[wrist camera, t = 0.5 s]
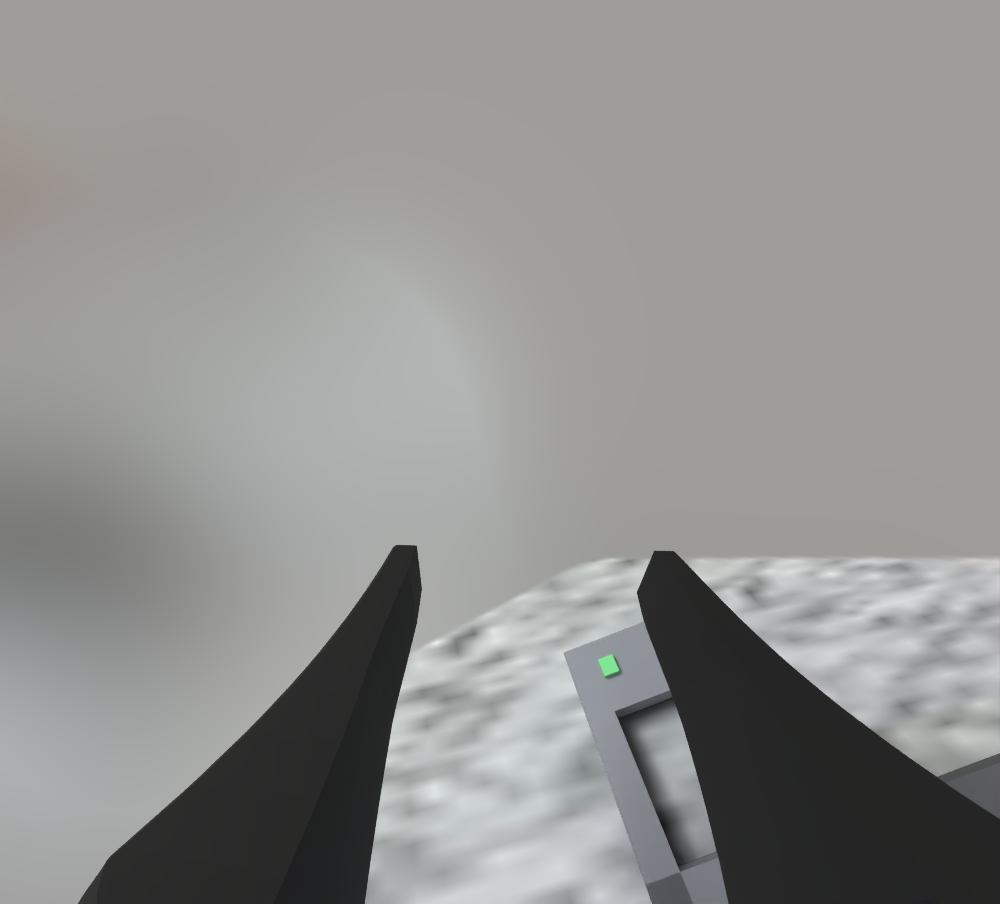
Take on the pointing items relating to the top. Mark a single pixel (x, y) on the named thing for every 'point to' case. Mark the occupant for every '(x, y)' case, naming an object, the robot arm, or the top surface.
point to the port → (606, 697)
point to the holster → (978, 783)
